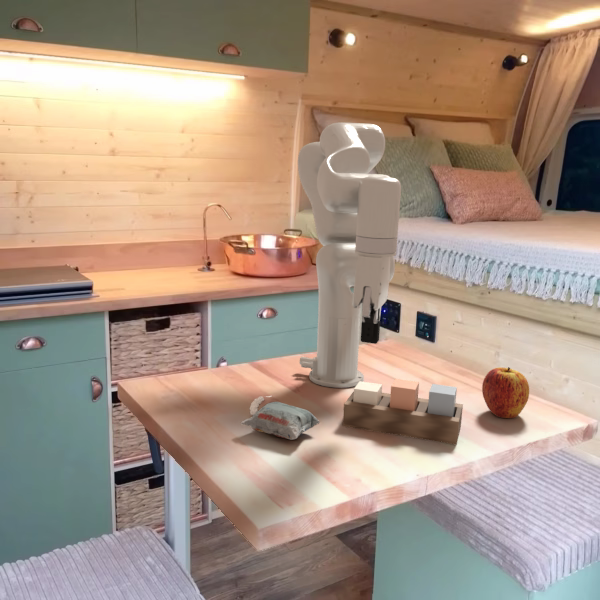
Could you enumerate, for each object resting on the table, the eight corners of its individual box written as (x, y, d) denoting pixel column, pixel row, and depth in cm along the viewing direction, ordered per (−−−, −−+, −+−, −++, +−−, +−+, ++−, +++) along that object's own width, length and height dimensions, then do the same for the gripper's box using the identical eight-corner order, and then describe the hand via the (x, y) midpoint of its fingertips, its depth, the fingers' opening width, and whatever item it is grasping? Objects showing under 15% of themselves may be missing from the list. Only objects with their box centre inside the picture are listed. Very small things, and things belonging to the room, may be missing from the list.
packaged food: (296, 450, 105) (298, 423, 104) (239, 432, 111) (240, 407, 110) (320, 433, 113) (321, 407, 112) (265, 417, 118) (266, 393, 117)
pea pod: (254, 397, 131) (255, 389, 131) (275, 398, 131) (275, 391, 130) (238, 425, 117) (238, 417, 116) (261, 427, 116) (261, 419, 116)
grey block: (427, 417, 113) (429, 391, 112) (430, 408, 117) (432, 383, 116) (452, 421, 111) (454, 395, 110) (454, 412, 115) (456, 387, 114)
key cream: (352, 413, 117) (354, 388, 116) (358, 405, 122) (359, 381, 121) (375, 417, 116) (377, 392, 115) (380, 408, 120) (382, 384, 119)
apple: (470, 409, 127) (474, 362, 125) (504, 403, 130) (509, 358, 128) (500, 426, 119) (505, 377, 116) (536, 420, 122) (542, 372, 120)
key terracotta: (389, 411, 115) (391, 386, 114) (393, 403, 119) (395, 378, 118) (413, 415, 114) (415, 389, 112) (417, 406, 118) (419, 382, 117)
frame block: (342, 426, 116) (343, 404, 115) (354, 409, 125) (355, 388, 124) (456, 445, 110) (458, 421, 109) (460, 426, 118) (462, 404, 117)
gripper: (365, 239, 120) (359, 329, 125) (345, 249, 106) (340, 350, 111) (403, 242, 118) (396, 333, 122) (388, 253, 104) (380, 356, 109)
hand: (369, 341), depth 117 cm, fingers closed
